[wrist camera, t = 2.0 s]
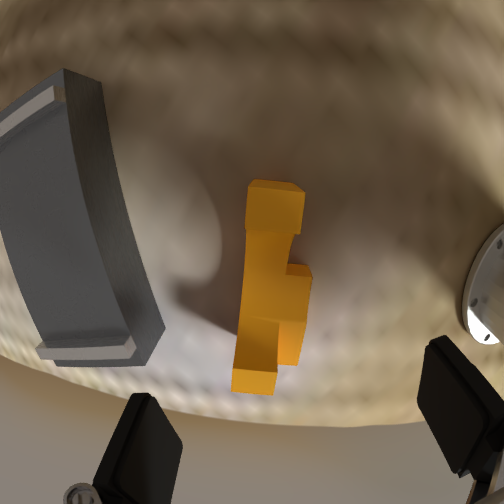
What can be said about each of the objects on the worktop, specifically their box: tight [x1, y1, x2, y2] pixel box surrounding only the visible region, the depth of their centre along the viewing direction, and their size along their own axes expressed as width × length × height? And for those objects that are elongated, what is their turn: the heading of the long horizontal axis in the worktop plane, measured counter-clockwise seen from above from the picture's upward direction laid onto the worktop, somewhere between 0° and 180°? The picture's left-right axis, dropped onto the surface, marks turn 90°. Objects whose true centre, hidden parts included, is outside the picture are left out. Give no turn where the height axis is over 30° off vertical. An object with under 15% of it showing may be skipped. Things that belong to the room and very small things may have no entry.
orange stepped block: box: [231, 179, 313, 395], centre depth 18 cm, size 12×4×6 cm, turn 175°
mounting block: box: [0, 68, 166, 367], centre depth 17 cm, size 9×20×6 cm, turn 12°
